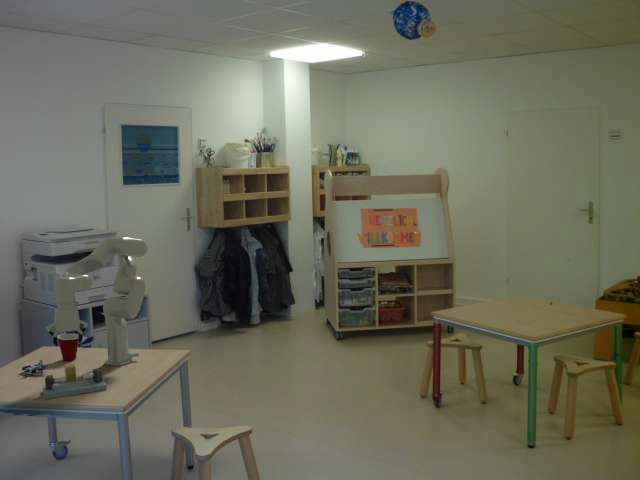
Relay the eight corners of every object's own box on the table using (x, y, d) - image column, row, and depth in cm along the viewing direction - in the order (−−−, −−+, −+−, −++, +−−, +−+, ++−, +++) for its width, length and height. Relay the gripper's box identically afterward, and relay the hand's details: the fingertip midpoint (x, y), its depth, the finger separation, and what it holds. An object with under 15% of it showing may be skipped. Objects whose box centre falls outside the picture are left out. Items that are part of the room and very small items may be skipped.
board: (102, 382, 298) (102, 377, 298) (106, 389, 288) (106, 384, 288) (43, 391, 287) (42, 386, 287) (45, 398, 278) (45, 394, 277)
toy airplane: (17, 380, 303) (17, 372, 302) (17, 372, 315) (16, 364, 315) (49, 376, 308) (48, 368, 308) (47, 368, 321) (47, 361, 320)
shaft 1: (45, 390, 283) (44, 378, 282) (47, 387, 287) (46, 375, 286) (65, 388, 284) (64, 376, 284) (66, 385, 288) (66, 373, 288)
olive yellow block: (65, 380, 302) (64, 365, 301) (74, 379, 303) (74, 363, 303) (66, 383, 297) (65, 368, 296) (76, 382, 299) (75, 366, 298)
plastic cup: (76, 362, 329) (75, 338, 328) (54, 362, 330) (53, 338, 328) (85, 356, 340) (83, 332, 339) (63, 356, 341) (62, 332, 339)
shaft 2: (98, 379, 296) (98, 368, 295) (102, 381, 293) (102, 370, 292) (81, 383, 291) (80, 371, 290) (85, 385, 288) (84, 373, 287)
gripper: (86, 302, 304) (87, 340, 306) (44, 305, 296) (46, 344, 298) (88, 304, 297) (90, 343, 299) (45, 308, 290) (47, 348, 291)
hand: (68, 344), depth 299 cm, fingers open, 9 cm apart
